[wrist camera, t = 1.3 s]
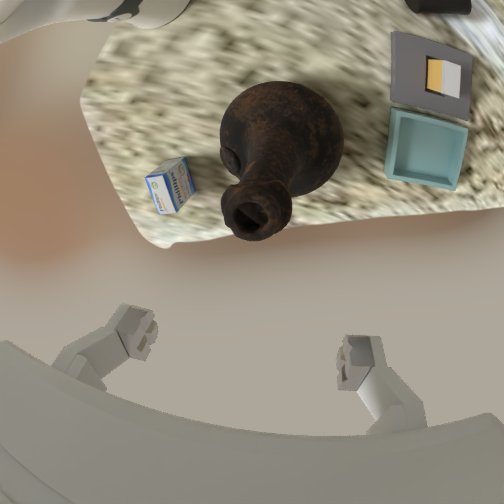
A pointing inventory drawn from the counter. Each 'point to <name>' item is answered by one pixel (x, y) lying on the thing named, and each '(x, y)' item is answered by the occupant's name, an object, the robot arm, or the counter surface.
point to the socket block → (414, 73)
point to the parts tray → (424, 149)
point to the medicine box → (170, 185)
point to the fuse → (443, 77)
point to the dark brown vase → (275, 154)
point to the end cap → (440, 6)
